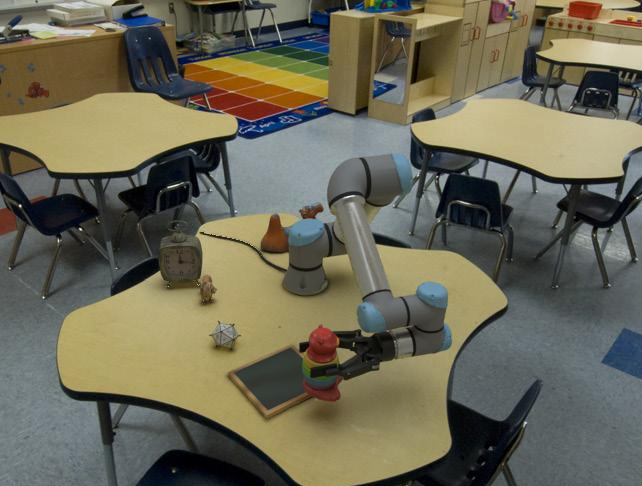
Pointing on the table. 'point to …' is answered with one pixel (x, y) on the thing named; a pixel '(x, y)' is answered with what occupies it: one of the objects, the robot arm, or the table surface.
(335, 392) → the stacking bear
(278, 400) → the chalkboard
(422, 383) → the table surface
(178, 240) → the tabletop clock
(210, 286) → the lion figurine
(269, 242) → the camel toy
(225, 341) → the game die
